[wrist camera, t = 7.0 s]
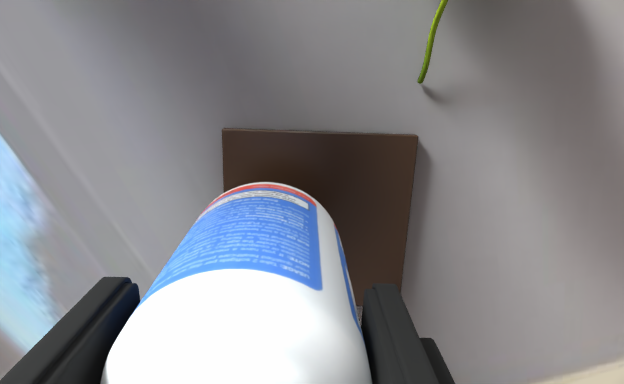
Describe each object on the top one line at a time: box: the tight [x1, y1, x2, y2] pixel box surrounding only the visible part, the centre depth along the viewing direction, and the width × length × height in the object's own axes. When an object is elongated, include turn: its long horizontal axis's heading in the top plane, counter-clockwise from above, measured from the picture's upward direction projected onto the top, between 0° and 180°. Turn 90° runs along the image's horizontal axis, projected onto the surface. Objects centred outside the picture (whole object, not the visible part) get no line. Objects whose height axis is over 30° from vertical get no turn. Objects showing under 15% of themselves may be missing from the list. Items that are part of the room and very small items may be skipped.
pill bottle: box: [100, 182, 372, 384], centre depth 10 cm, size 6×5×10 cm
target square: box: [222, 128, 418, 306], centre depth 17 cm, size 8×8×1 cm
